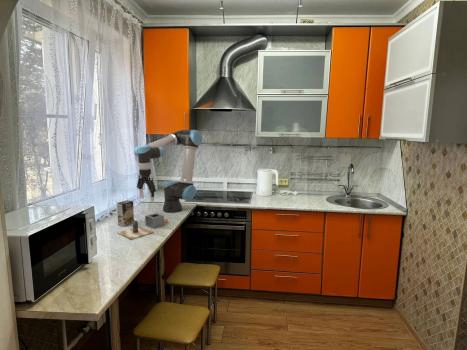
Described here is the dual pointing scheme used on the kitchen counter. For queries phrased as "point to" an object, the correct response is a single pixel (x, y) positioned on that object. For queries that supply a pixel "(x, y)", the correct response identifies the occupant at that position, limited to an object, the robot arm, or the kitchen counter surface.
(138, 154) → the robot arm
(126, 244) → the kitchen counter surface
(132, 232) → the post board
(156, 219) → the square sleeve with handle
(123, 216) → the coffee box
